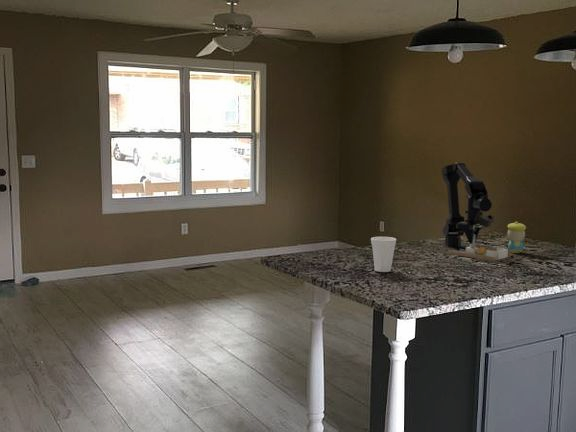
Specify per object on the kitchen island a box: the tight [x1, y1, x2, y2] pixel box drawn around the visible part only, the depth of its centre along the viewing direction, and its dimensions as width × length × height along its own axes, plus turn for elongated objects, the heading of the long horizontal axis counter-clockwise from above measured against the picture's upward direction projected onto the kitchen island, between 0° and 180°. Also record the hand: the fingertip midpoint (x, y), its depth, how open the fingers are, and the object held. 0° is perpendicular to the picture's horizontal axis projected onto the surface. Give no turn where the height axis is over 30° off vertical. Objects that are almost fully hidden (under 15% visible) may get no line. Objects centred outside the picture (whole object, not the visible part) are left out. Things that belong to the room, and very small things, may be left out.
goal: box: [486, 247, 509, 261], centre depth 273 cm, size 5×10×4 cm, turn 134°
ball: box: [477, 246, 486, 255], centre depth 278 cm, size 4×4×4 cm
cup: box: [370, 236, 397, 273], centre depth 247 cm, size 10×10×13 cm
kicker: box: [466, 234, 479, 254], centre depth 281 cm, size 4×4×8 cm
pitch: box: [447, 246, 512, 262], centre depth 279 cm, size 22×16×2 cm
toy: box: [506, 221, 527, 254], centre depth 285 cm, size 8×9×15 cm
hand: (472, 243), depth 281 cm, fingers closed on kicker, 2 cm apart
